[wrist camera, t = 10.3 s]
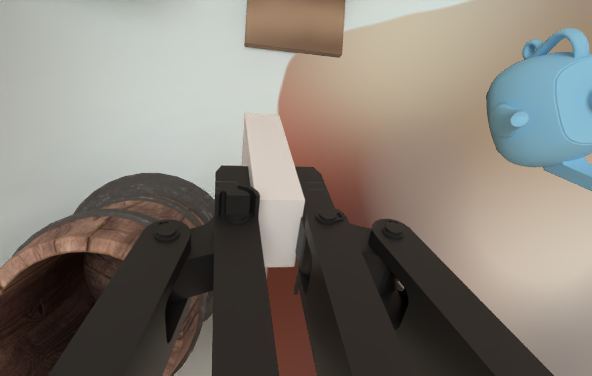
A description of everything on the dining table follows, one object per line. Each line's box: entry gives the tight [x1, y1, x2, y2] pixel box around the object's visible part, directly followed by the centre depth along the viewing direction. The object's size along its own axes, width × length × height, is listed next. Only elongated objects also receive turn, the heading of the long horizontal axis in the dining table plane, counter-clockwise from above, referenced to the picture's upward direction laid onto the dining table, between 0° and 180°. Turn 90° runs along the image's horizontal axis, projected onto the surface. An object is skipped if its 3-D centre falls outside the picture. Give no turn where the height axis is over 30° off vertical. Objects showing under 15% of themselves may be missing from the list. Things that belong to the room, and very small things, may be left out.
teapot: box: [486, 28, 592, 191], centre depth 41 cm, size 15×14×11 cm
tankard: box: [0, 173, 215, 376], centre depth 29 cm, size 24×17×20 cm
